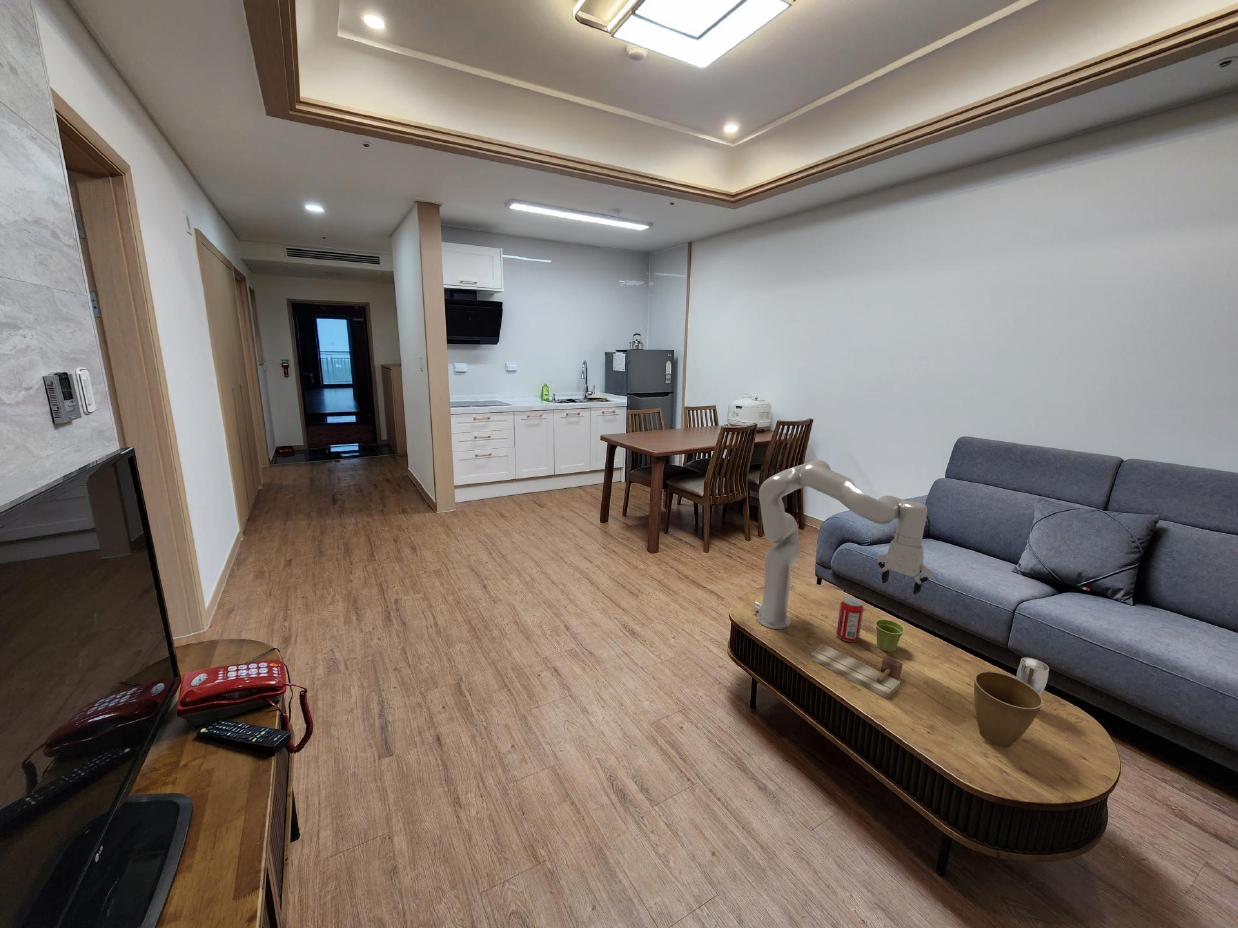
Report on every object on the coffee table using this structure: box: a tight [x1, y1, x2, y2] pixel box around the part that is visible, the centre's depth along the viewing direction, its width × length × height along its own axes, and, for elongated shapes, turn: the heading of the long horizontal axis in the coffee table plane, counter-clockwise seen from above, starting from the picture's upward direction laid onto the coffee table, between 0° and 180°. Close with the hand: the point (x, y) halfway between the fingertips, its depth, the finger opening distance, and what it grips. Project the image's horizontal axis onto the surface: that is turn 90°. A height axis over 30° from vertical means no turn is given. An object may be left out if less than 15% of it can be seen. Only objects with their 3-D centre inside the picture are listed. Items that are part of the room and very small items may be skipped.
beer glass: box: [1015, 657, 1050, 697], centre depth 150 cm, size 7×7×15 cm
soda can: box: [835, 596, 865, 643], centre depth 185 cm, size 8×8×15 cm
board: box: [809, 643, 901, 700], centre depth 166 cm, size 26×9×2 cm, turn 40°
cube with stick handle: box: [877, 655, 904, 683], centre depth 161 cm, size 5×11×6 cm, turn 130°
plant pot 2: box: [973, 670, 1044, 748], centre depth 137 cm, size 15×15×16 cm
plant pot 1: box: [874, 618, 905, 653], centre depth 180 cm, size 9×9×9 cm
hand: (900, 587), depth 165 cm, fingers open, 9 cm apart
